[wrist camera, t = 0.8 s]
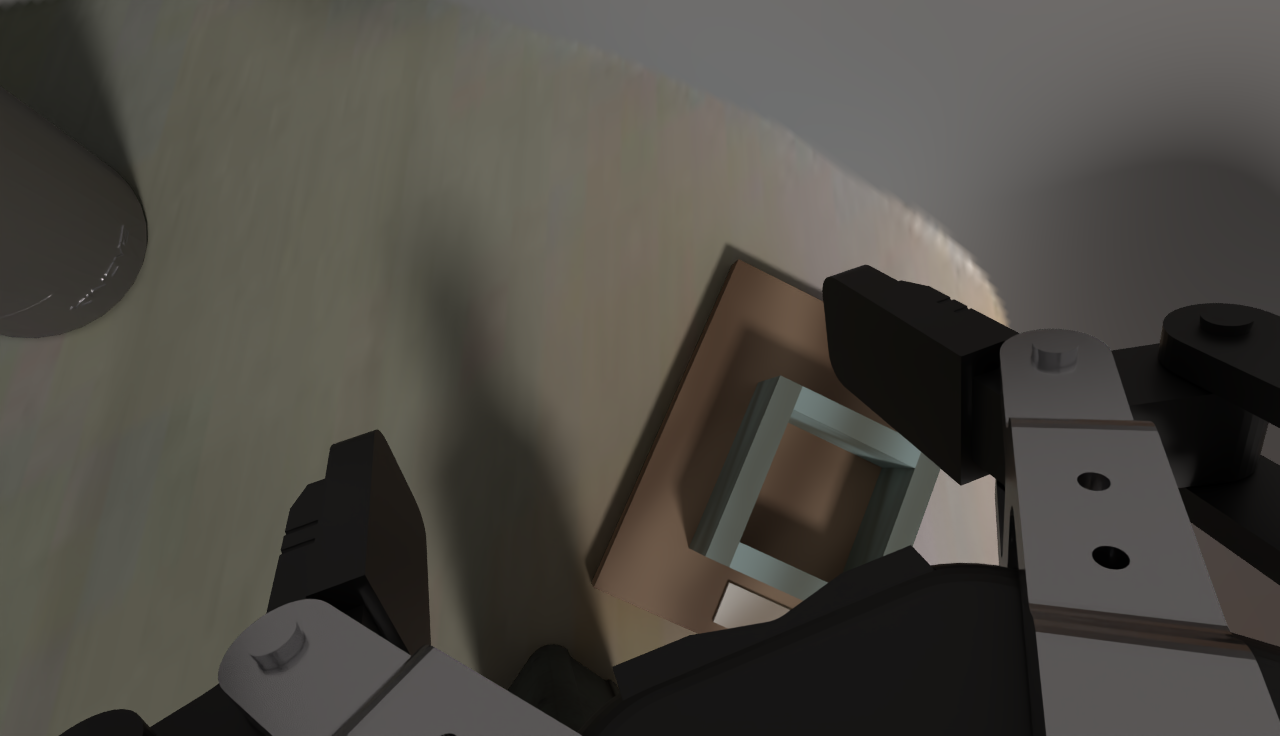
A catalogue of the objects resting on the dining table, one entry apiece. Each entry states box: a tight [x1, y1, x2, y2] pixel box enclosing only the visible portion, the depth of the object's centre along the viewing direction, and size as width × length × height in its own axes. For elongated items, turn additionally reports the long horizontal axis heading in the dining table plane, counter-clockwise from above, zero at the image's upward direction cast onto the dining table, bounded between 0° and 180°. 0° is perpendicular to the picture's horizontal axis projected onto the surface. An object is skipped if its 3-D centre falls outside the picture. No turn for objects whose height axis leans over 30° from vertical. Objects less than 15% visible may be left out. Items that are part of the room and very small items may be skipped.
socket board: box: [591, 259, 940, 634], centre depth 36 cm, size 13×18×4 cm
